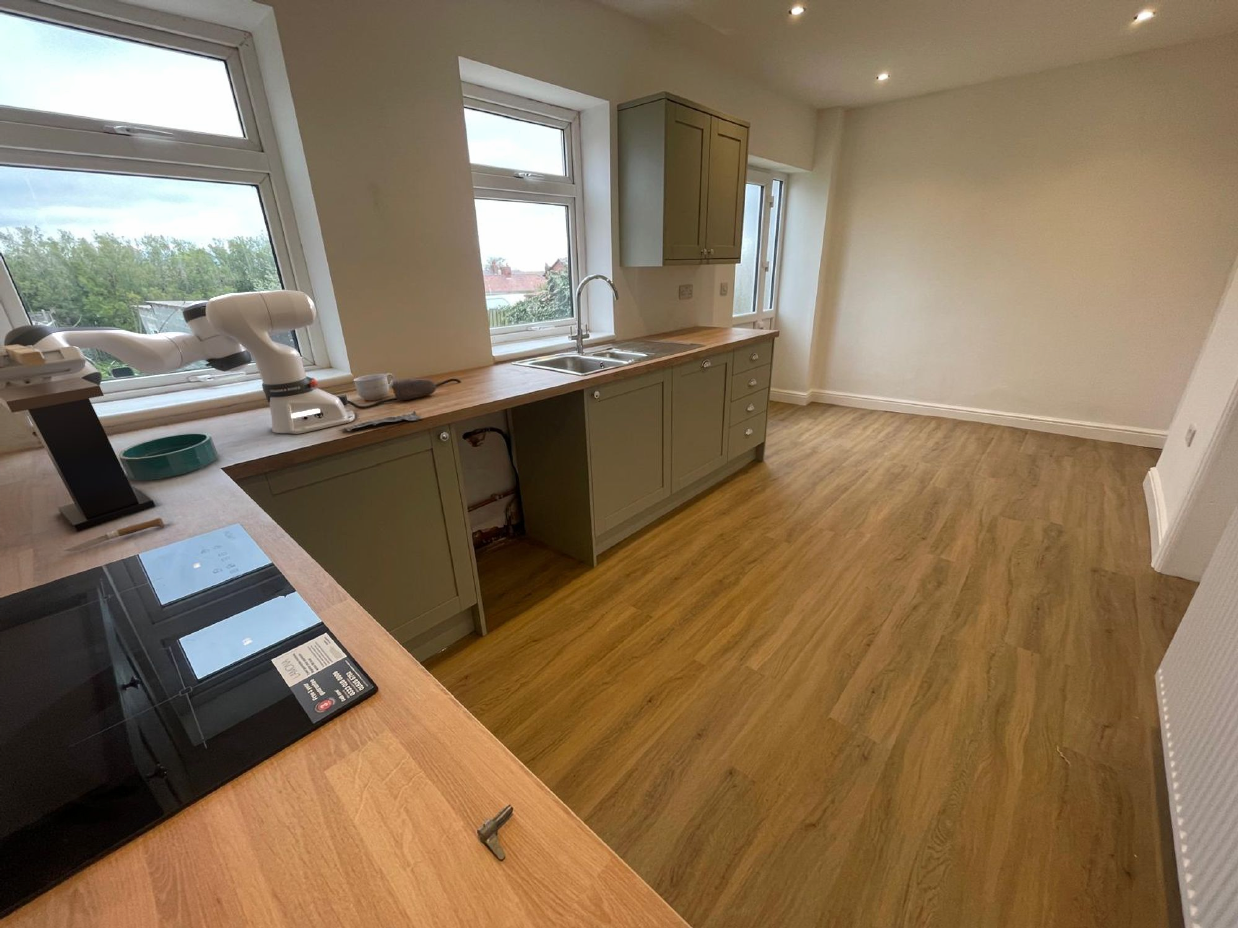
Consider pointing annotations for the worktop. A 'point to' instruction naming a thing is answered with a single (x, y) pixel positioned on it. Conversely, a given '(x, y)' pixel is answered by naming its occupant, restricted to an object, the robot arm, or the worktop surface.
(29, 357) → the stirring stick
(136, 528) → the folding knife
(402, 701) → the worktop surface
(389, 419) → the driftwood
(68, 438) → the black slanted stand
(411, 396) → the grey rounded oblong body
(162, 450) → the bowl
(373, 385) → the teacup
